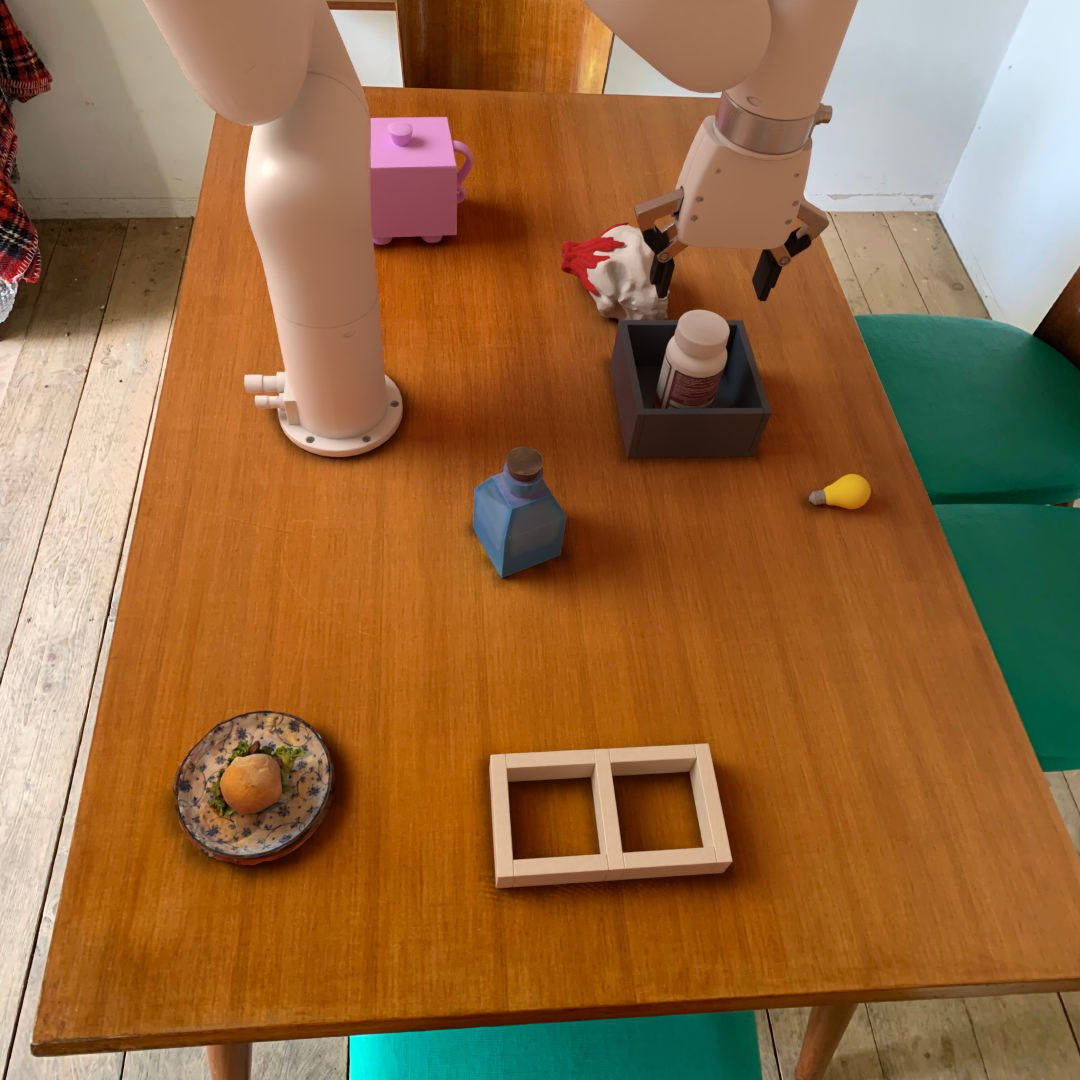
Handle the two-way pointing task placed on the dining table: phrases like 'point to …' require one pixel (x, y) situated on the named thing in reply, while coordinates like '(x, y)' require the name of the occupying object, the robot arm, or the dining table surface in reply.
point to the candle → (617, 273)
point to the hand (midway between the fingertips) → (709, 290)
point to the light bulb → (844, 492)
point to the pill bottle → (693, 362)
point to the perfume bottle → (518, 515)
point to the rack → (609, 815)
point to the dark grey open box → (686, 430)
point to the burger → (254, 787)
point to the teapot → (415, 178)
